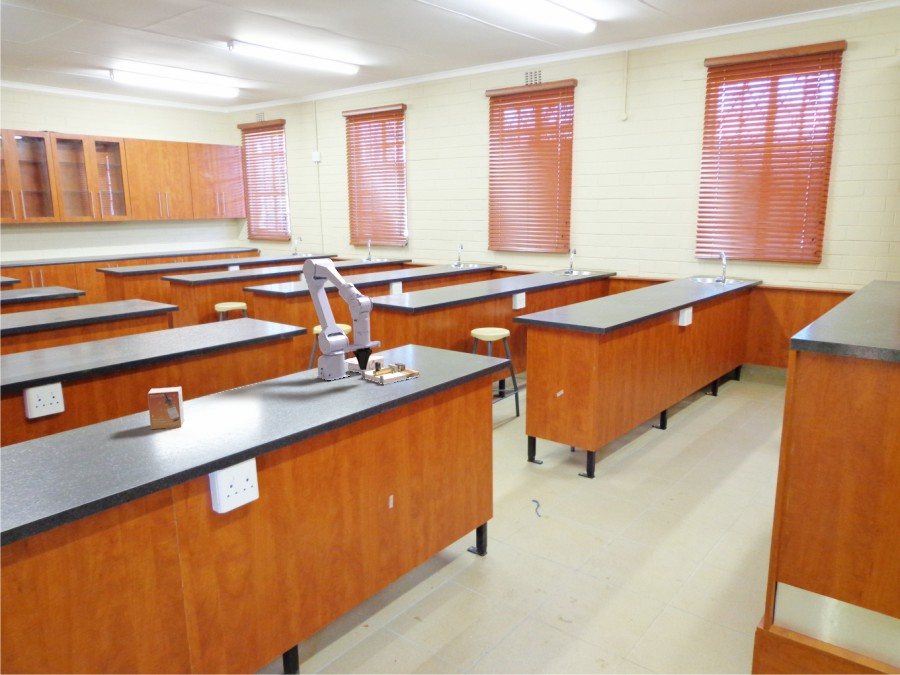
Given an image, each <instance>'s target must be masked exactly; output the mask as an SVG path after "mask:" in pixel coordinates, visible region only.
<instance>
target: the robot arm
mask: <svg viewBox="0 0 900 675" xmlns="http://www.w3.org/2000/svg"><path fill="white" fill-rule="evenodd" d="M301 269H302V272H303V277H304V280H305V282H306V284H307V287H308V291H309V294H310V296H311V297H310V298H311V300H312V302H313V306H314V309H315V312H316V315H317V318H318V321H319V324H320V327H321V331H320V333H319V334H318V336H317V338H318V348H319V350H320V351H321V353H322V355H320V356H319V357H318V358H317V376H316V377H317V378H318V377H320V378H319V379H321V378H323V379H322V380H324V379H325V381H327V380H331V381H335V380H334V379H336V380H339V378H341V379H344V378H343V377H345V378H349V377H348V376H350V377H351V375H350V374H347V373H346V362H345V360H346V359H345V353H349V352H352V353H353V355H354V358H355V357H356V359H357V361H358V364H359V367H360V369H361V370H366V368H367V364H368V360H369V357H370V355H372V353H373V349H372V348H381V347H382V346H381V344H382V343H381V341H379V340H373V341H372V340H371V326H370V325H371V321H370V318H371V317H370V313H371V312H372V310H373V306H374V305H373V301H372V299H371V298H370V296H368V295H364V294H362V293H361V292H360V291H359V290H358V289H357V288H356V287H355V285H354V284H353V283H352V282H346V281H345V279H344V278H343V277H342V275H341V274H340V273H339V272H338V271H337V269H336V264H335V262H333V260H332V259H331V258H329V257H325V258H307V259H306V260H304V262H303V266H302V268H301ZM328 281H330V283H332V284H333V285H334V286H335V287H336V288H337V289H338V295H339V296H340V297H341V298H342V299H343V300H344V302H346V303H347V304H348V309H349V313H350V315H351V316H350V317H351V319H352V328H353V331H352V332H353V343H351V344H350V340H349V338H348V336H347V335H346V333H345V332H344V329H343V328H342V327H339V326H338V325H337V324H336V320H335V317H334V314H333V311H332V308H331V304H330V302H329V299H328V296H327V293H326V290H325V283H327V282H328Z"/></svg>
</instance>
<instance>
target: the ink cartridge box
mask: <svg viewBox="0 0 900 675" xmlns="http://www.w3.org/2000/svg"><path fill="white" fill-rule="evenodd" d="M375 362H381V368H382V367H384V368H385V356H379V355H374V354H371V355H370V357H369V360H368V364H367V368H366V370H365V372H367V371H372V370H375ZM345 363H347V371H348V370H350V371H354V372H353V373H355V372H360V373H362V370H361V369H360V367H359V364H358V361H357V359H356V357H355V356H354V357H353V358H347V359H345ZM350 371H349V372H350Z"/></svg>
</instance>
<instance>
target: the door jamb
mask: <svg viewBox="0 0 900 675" xmlns="http://www.w3.org/2000/svg"><path fill="white" fill-rule="evenodd" d="M394 365H396V366H398V372H399V373H403V374H406V375H407V378H409V377H414V376H418V375H419V376H420V371H418V370H414V369H410V368H407V367H406V364H405V363H401V362H394ZM385 368H388V366H387V367H385ZM392 368H394V367H392Z"/></svg>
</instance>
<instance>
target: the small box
mask: <svg viewBox="0 0 900 675" xmlns="http://www.w3.org/2000/svg"><path fill="white" fill-rule="evenodd" d="M147 403H148V411H149V424H150V430H158V429H159V430H160V429H177V428H182V426H183V424H184V422H185V416H184V402H183V388H182V386H176V387H175V386H171V387H160V388H158V387H157V388H156V387H155V388H151V389H150V390H149V391H148V393H147Z"/></svg>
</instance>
